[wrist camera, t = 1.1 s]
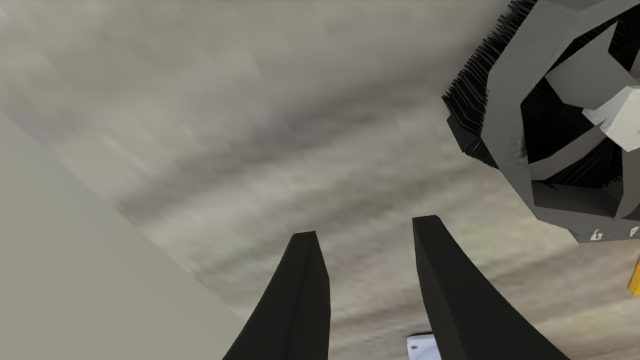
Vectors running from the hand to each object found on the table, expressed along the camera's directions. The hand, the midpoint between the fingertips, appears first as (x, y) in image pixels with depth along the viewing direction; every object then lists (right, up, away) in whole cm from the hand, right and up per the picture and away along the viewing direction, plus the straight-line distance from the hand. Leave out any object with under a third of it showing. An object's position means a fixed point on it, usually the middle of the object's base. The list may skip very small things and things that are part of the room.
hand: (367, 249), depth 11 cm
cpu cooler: (+10, +7, +6) cm, 14 cm away
